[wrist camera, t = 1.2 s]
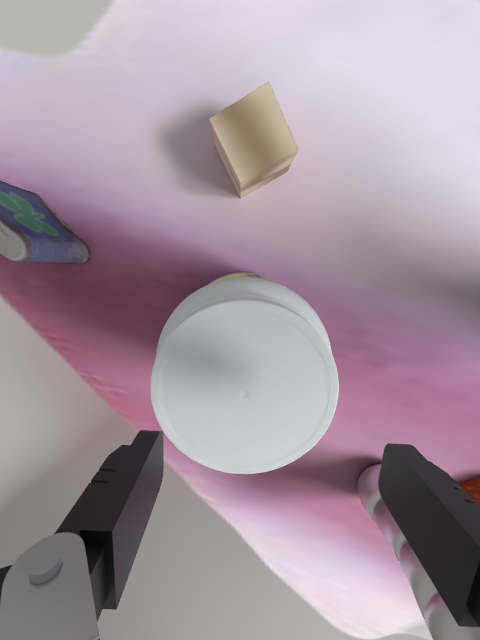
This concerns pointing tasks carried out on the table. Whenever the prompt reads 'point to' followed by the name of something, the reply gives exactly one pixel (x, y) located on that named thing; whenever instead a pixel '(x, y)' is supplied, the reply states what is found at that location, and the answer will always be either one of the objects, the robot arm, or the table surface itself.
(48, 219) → the flask
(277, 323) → the supplement tub
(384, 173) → the table surface
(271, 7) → the table surface
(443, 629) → the plastic bottle
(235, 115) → the beech cube
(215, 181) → the table surface
